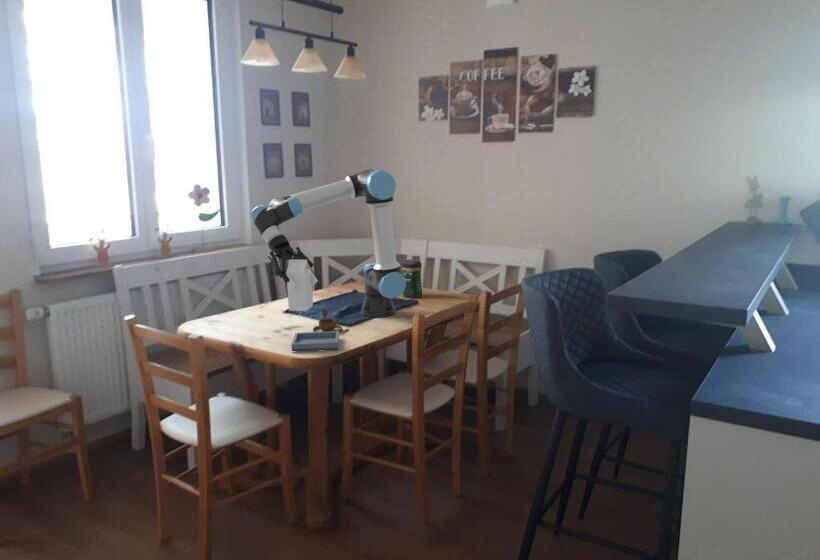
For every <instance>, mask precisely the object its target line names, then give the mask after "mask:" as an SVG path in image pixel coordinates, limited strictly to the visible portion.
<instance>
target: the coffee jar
mask: <svg viewBox="0 0 820 560" xmlns="http://www.w3.org/2000/svg"><path fill="white" fill-rule="evenodd" d="M422 268H423V267H422V262H421V261H420V260H415V259H405V260H402V265H401V271H402V275H403V276H404V278H405V281H406V287H405V289H404V291H403V293H402V296H403V297H406V298H409V299H410V298H411V299H414V298H421V296H423V287H422V276H421V275H422V273H421V272H422Z"/></svg>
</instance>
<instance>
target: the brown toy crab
mask: <svg viewBox="0 0 820 560" xmlns="http://www.w3.org/2000/svg"><path fill="white" fill-rule="evenodd" d="M321 316H322V317H323V319H320V320H319V321H318V325H313V326H312V327H313V328H312V332H318V330H321V332H332V331H333V330H335V329H337V330H336V331H339V333H341V332H342V330H343V327H342V326H341V325H339V324H336V322H337V321H336V319H333V318H327V316H328V309H326V308H324V309H321ZM349 331H350V328H346V329H344V331H343V332H342V333H341V336H343V335H344V334H345V333H348V332H349Z"/></svg>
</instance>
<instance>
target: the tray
mask: <svg viewBox="0 0 820 560" xmlns="http://www.w3.org/2000/svg"><path fill="white" fill-rule="evenodd" d="M339 341H340V332H339V331H337V330H335V331H333V330H332V331H331V332H323V331H317V332H313V331H312V332H311V331H310V332H295V333H294V336H293V339H292V342H291V352H292V351H306V352H320V351H319V350H330V351H338V350H339V343H340V342H339Z"/></svg>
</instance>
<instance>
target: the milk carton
mask: <svg viewBox="0 0 820 560" xmlns="http://www.w3.org/2000/svg"><path fill="white" fill-rule="evenodd" d="M311 269H312V268H310V266H309V264H308V263H307V260H294V259H289V260H288V265H287V268H286V270H285V273H286V272H288V273H289V275H290V276H291V278H292V280H293V281H294V283H295V284H296V287H295V289H294V290H291V288H290V287H289V285H288V283H286V287H287V289H286V290H287V302H288V311H294V312H296V311H300V312H301V311H302V312H303V311H304V312H307V311H309V310H310V309H311V308H312V307H313V306H314V303H313V302H314V299H313V284H312V279H311Z"/></svg>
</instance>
